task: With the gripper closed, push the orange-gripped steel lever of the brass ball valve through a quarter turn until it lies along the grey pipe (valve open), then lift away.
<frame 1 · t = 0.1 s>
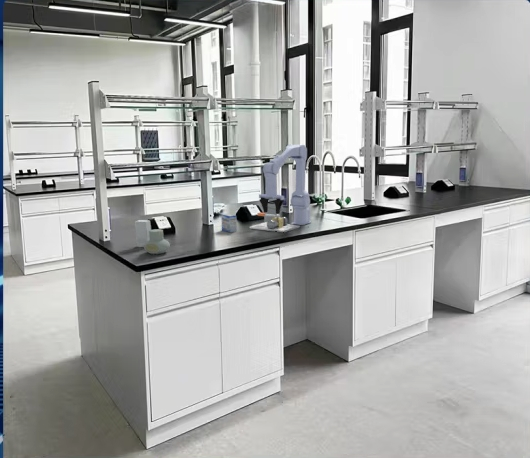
hand: (271, 212, 247), 10 cm above the worktop, fingers open, 7 cm apart
lever: (268, 215, 262), point 7 cm above the worktop, hinge at -90.0°
valve rig: (277, 228, 260), on the worktop
medicine box: (229, 231, 255), on the worktop
skincare box: (144, 246, 223), on the worktop
air freshener: (157, 253, 211), on the worktop
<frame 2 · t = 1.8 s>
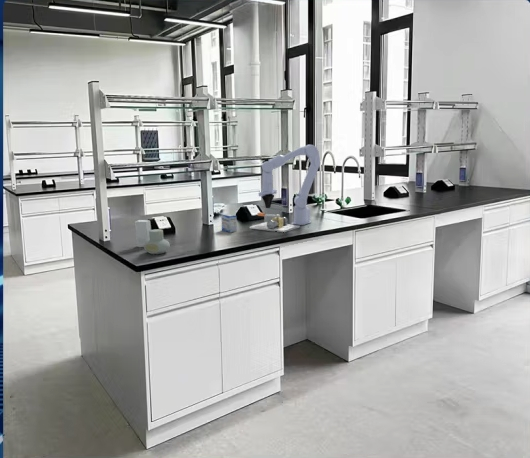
hand: (268, 207, 269), 9 cm above the worktop, fingers closed
nothing on the worktop moved.
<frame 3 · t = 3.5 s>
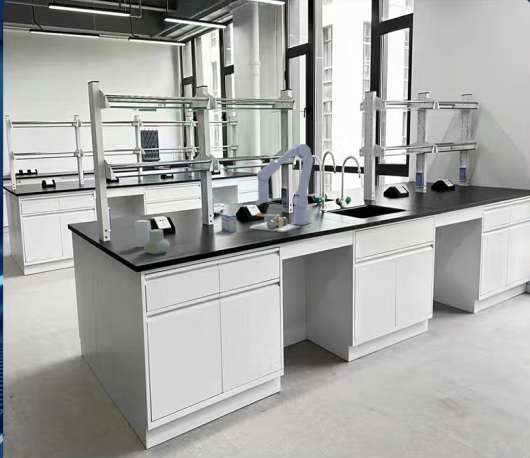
hand: (263, 216, 266), 5 cm above the worktop, fingers closed
lever: (268, 215, 262), point 7 cm above the worktop, hinge at -86.3°, touching gripper
everything else where it was.
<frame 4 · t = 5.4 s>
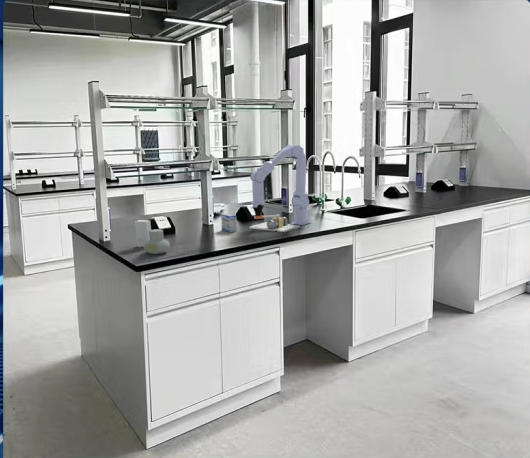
hand: (258, 218, 259), 5 cm above the worktop, fingers closed
lever: (267, 216, 257), point 7 cm above the worktop, hinge at -40.6°, touching gripper
everything else where it was.
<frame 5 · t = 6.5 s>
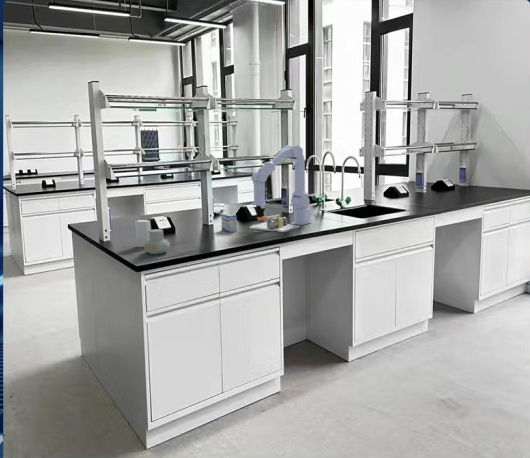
hand: (259, 220, 255), 5 cm above the worktop, fingers closed
lever: (269, 217, 255), point 7 cm above the worktop, hinge at -16.9°, touching gripper
everything else where it was.
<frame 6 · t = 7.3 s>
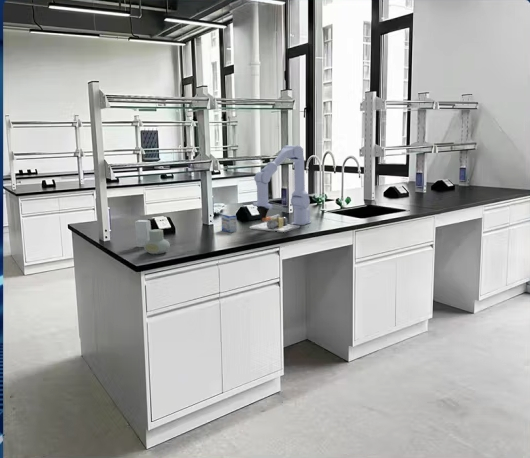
hand: (263, 221, 252), 5 cm above the worktop, fingers closed
lever: (271, 217, 254), point 7 cm above the worktop, hinge at 0.8°, touching gripper
everything else where it was.
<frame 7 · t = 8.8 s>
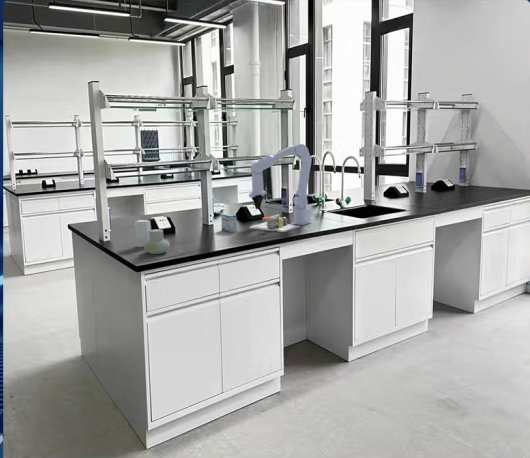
hand: (257, 209, 265), 9 cm above the worktop, fingers closed
lever: (271, 217, 254), point 7 cm above the worktop, hinge at 0.8°
everything else where it was.
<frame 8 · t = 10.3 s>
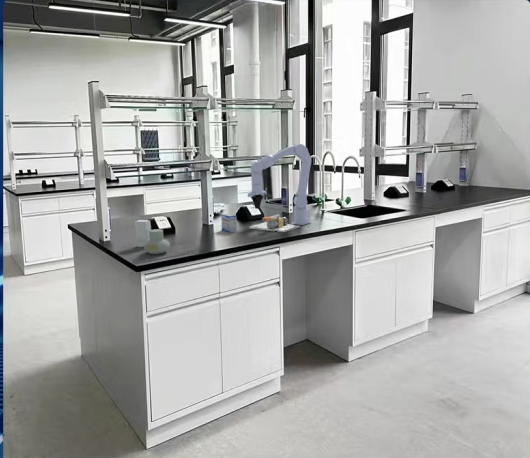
hand: (257, 208, 267), 9 cm above the worktop, fingers closed
nothing on the worktop moved.
at the end: lever at +1° (first picture: -90°); medicine box moved 0.3 cm from its start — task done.
